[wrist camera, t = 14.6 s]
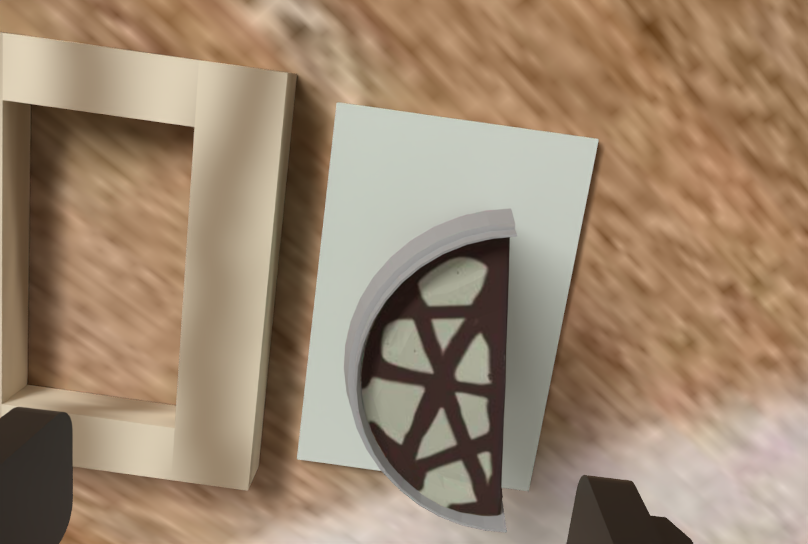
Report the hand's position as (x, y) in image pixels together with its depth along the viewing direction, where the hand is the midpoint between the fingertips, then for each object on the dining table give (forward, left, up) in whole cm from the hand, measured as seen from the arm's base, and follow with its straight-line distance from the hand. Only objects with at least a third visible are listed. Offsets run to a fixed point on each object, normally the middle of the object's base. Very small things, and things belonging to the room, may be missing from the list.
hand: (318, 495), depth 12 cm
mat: (-3, +4, -25) cm, 25 cm away
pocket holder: (+13, +4, -25) cm, 28 cm away
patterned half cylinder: (-2, +4, -24) cm, 25 cm away
